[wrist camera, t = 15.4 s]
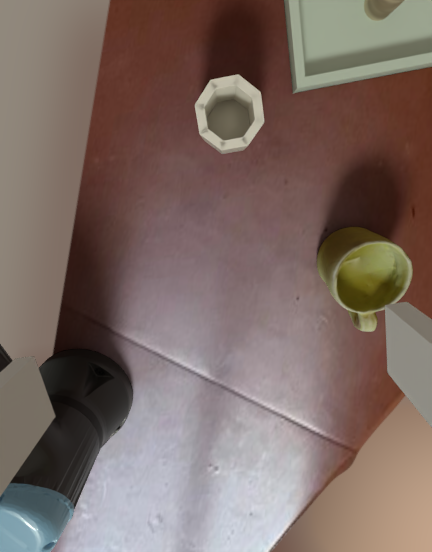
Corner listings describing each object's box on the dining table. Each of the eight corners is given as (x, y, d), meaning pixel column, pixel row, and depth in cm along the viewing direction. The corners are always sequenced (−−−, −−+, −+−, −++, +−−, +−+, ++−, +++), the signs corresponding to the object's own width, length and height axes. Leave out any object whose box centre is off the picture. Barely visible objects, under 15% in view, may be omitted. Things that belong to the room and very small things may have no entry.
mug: (310, 215, 44) (359, 248, 35) (378, 215, 47) (438, 246, 38) (290, 298, 50) (328, 343, 41) (352, 294, 53) (399, 335, 44)
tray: (293, 93, 42) (297, 88, 39) (278, -50, 38) (282, -65, 35) (468, 59, 40) (483, 52, 38) (472, -92, 36) (489, -111, 34)
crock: (206, 156, 44) (202, 153, 36) (197, 99, 42) (191, 83, 34) (259, 147, 43) (266, 142, 36) (252, 88, 42) (258, 70, 34)
